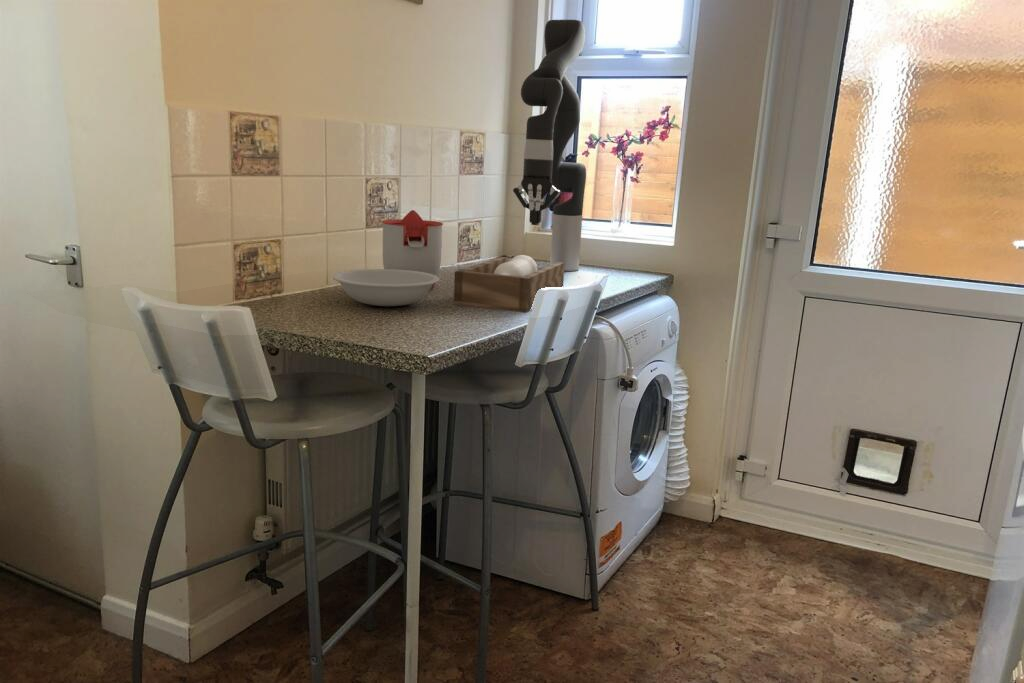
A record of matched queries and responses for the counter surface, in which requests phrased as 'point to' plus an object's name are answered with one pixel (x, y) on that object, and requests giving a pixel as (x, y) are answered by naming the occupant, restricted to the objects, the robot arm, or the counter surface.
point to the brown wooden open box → (503, 286)
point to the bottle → (517, 266)
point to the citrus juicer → (412, 244)
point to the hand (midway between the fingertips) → (534, 224)
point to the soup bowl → (386, 285)
